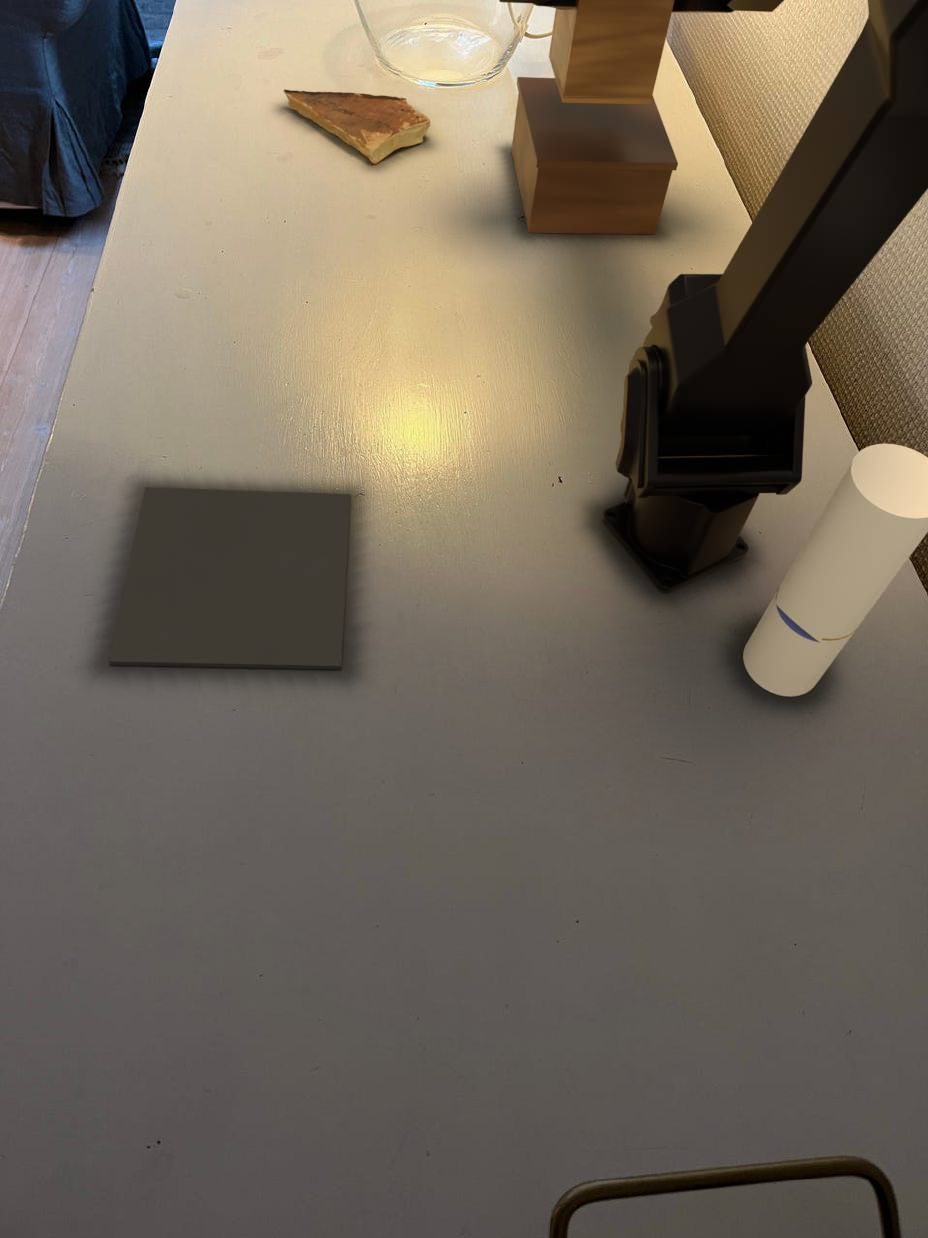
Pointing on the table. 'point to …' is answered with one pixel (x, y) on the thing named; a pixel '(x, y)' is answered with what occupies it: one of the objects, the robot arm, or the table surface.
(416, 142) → the pie slice
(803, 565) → the tube
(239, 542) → the mat
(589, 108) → the lidded wooden box
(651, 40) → the open wooden box
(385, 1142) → the table surface
